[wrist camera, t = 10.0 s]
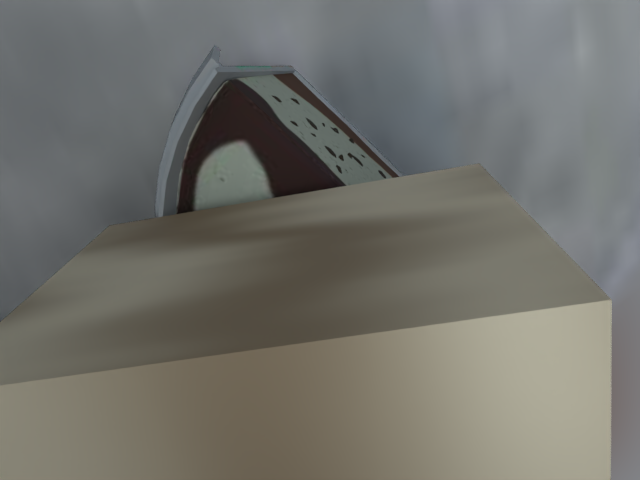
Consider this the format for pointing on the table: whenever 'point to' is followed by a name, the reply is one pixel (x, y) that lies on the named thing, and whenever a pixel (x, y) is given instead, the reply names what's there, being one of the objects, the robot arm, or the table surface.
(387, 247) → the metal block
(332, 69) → the table surface
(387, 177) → the food container
